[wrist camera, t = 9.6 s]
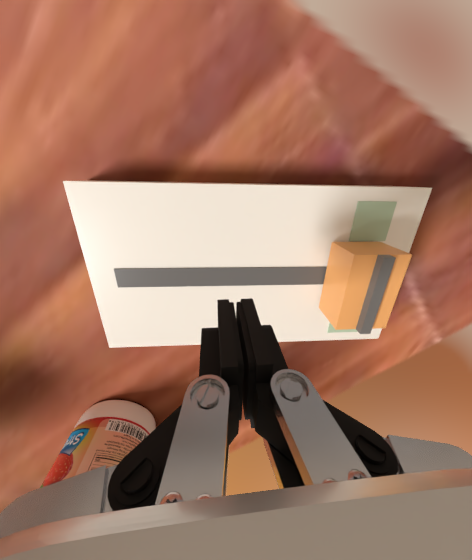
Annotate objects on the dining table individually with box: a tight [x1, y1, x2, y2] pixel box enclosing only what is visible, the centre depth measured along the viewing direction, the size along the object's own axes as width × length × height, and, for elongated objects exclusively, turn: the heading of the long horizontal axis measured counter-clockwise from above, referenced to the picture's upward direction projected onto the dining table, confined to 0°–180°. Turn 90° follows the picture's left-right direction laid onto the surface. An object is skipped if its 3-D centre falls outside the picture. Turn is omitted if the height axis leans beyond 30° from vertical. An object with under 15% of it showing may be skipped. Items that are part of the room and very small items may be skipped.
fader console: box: [63, 180, 432, 348], centre depth 20 cm, size 26×14×3 cm, turn 89°
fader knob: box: [319, 242, 412, 334], centre depth 17 cm, size 4×6×4 cm, turn 179°
